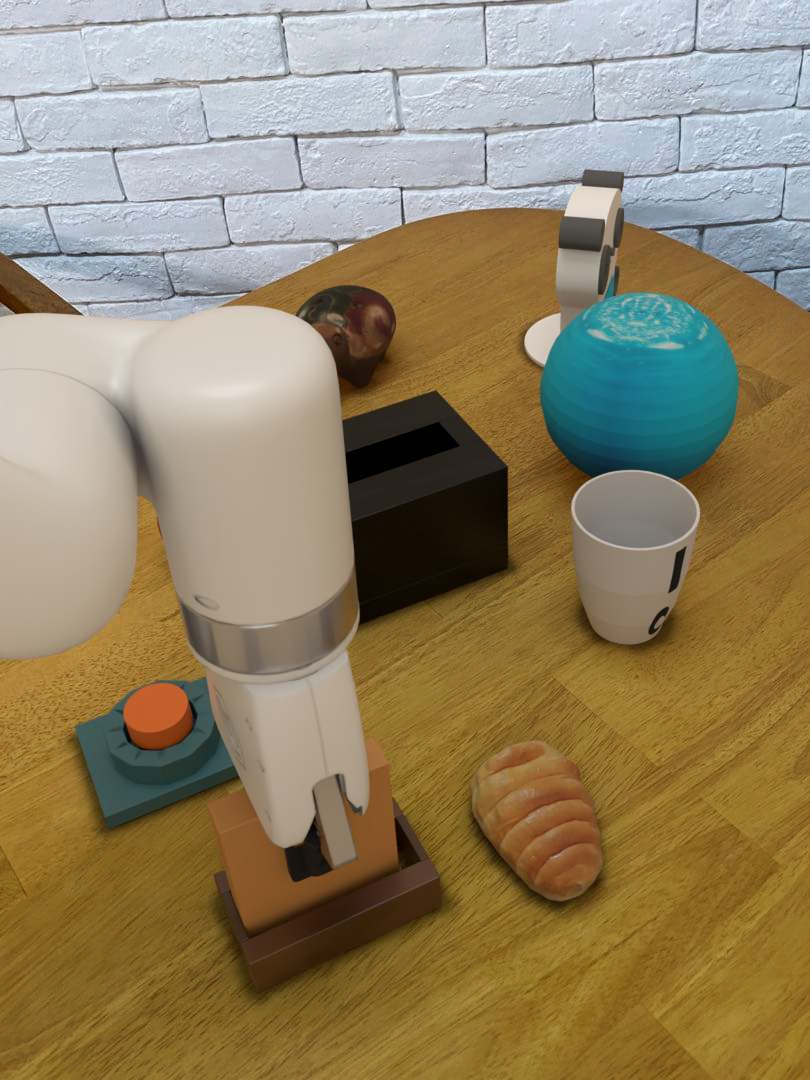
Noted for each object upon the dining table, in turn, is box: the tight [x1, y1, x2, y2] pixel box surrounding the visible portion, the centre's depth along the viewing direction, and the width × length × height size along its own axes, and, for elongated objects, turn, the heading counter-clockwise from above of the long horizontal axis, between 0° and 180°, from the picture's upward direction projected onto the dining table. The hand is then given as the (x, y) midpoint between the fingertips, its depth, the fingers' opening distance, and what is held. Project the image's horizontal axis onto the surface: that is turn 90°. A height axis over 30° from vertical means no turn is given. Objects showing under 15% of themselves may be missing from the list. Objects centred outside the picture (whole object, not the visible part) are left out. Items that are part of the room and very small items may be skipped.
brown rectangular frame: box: [213, 796, 443, 993], centre depth 63 cm, size 11×6×3 cm, turn 116°
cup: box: [570, 470, 701, 646], centre depth 76 cm, size 8×8×10 cm
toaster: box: [342, 389, 509, 626], centre depth 82 cm, size 15×11×10 cm
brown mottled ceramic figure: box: [294, 284, 397, 389], centre depth 103 cm, size 10×15×8 cm, turn 172°
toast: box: [206, 735, 400, 939], centre depth 59 cm, size 9×2×10 cm, turn 116°
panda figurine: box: [524, 168, 625, 369], centre depth 101 cm, size 12×11×15 cm
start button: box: [123, 683, 193, 750], centre depth 70 cm, size 4×4×2 cm
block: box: [74, 676, 239, 830], centre depth 72 cm, size 10×8×3 cm
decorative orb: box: [539, 291, 740, 482], centre depth 87 cm, size 15×15×15 cm
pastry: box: [469, 740, 604, 902], centre depth 65 cm, size 9×7×4 cm
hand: (309, 845), depth 60 cm, fingers closed on toast, 2 cm apart
